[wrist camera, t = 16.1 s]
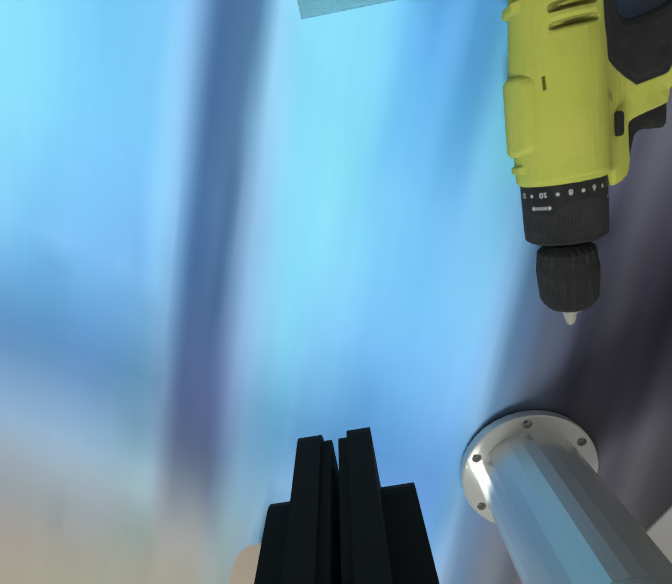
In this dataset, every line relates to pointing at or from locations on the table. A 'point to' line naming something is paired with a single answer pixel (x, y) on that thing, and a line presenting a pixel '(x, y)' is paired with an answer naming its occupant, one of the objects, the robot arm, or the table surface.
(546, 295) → the cordless drill
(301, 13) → the socket block
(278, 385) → the table surface
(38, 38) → the table surface
